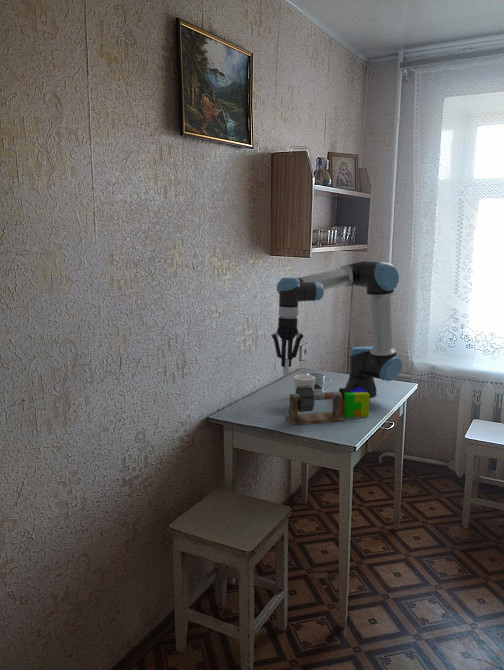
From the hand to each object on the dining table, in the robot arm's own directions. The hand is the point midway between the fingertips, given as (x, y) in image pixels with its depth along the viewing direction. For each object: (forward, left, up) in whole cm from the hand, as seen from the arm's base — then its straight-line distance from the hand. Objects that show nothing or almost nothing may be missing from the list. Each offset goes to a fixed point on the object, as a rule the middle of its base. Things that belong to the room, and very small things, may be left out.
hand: (285, 374), depth 220 cm
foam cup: (-14, -19, -20) cm, 31 cm away
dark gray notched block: (-8, 0, -11) cm, 14 cm away
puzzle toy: (-32, -5, -20) cm, 38 cm away
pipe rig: (-13, 0, -20) cm, 24 cm away
